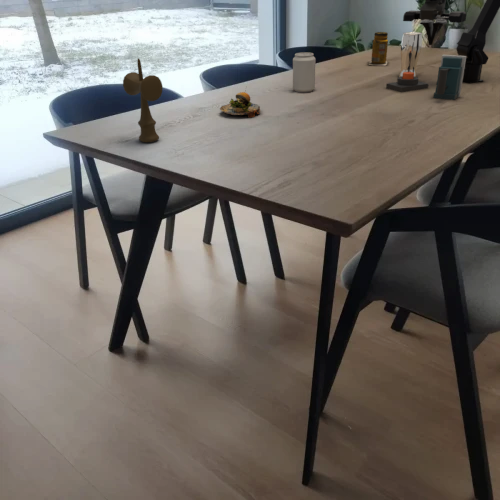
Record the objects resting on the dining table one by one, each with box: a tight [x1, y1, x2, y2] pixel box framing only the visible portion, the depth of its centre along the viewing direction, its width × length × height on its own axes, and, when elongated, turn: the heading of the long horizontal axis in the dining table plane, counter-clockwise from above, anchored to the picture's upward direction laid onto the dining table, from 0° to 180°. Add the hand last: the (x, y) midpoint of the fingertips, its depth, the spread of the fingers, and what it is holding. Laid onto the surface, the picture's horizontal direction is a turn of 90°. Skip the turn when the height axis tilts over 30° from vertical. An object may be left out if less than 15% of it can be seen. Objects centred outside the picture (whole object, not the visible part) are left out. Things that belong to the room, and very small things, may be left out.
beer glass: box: [398, 31, 423, 77], centre depth 187 cm, size 7×7×15 cm
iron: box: [432, 54, 466, 101], centre depth 156 cm, size 12×7×11 cm
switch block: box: [385, 76, 429, 93], centre depth 173 cm, size 11×8×4 cm
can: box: [292, 52, 316, 93], centre depth 174 cm, size 8×8×12 cm
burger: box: [219, 86, 261, 119], centre depth 151 cm, size 12×12×8 cm
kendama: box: [122, 58, 163, 143], centre depth 127 cm, size 6×10×20 cm, turn 43°
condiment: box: [368, 31, 389, 66], centre depth 213 cm, size 7×8×12 cm
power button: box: [402, 72, 414, 79], centre depth 172 cm, size 4×4×2 cm
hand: (430, 44), depth 171 cm, fingers closed
